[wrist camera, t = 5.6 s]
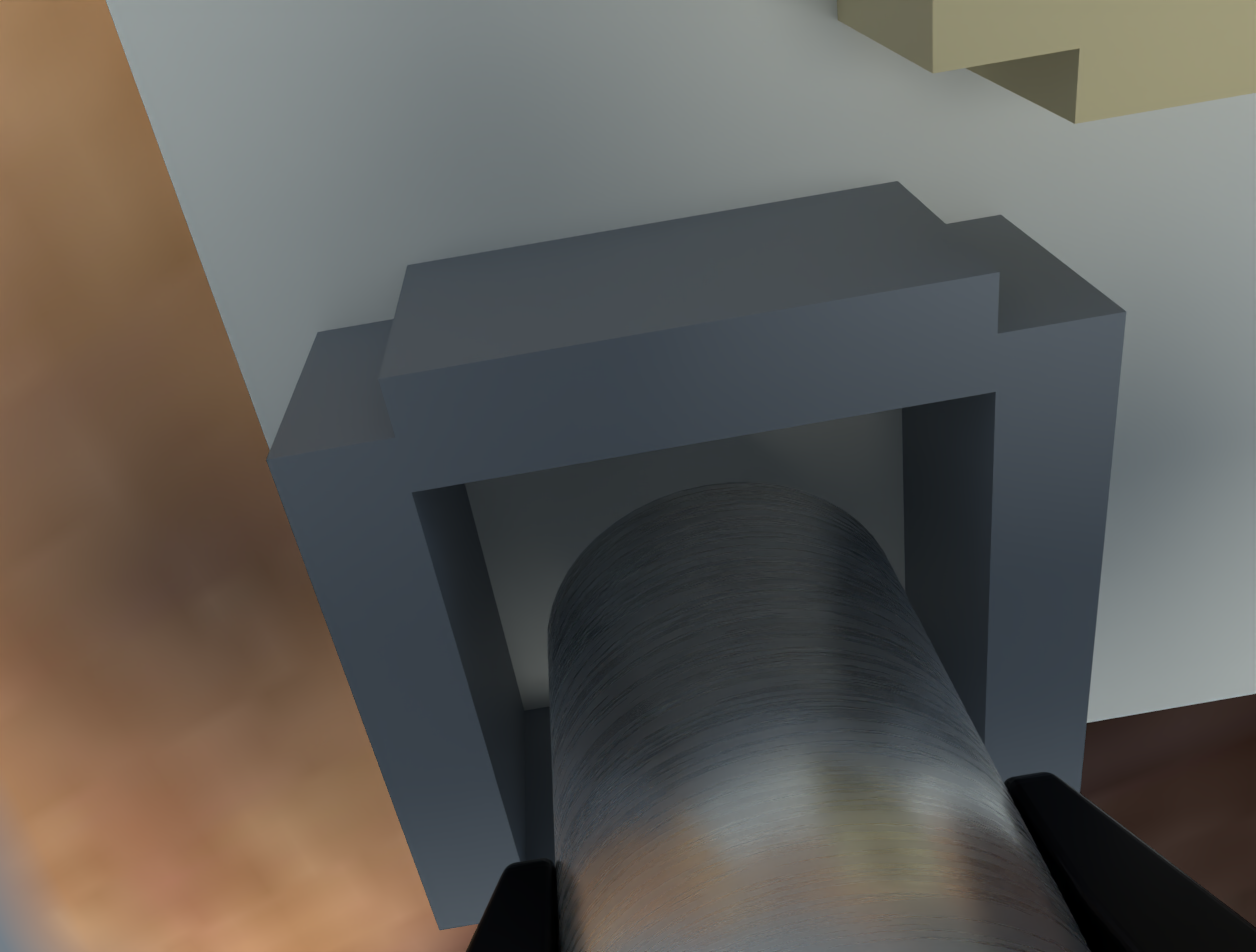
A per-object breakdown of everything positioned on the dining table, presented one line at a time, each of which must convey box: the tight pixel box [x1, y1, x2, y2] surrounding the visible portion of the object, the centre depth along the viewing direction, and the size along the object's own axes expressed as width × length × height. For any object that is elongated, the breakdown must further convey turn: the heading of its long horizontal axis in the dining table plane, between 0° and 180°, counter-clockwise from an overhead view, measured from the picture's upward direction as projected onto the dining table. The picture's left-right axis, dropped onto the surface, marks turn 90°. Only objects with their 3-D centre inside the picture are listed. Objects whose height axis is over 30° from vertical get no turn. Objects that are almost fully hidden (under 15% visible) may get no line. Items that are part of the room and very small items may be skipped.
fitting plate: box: [106, 0, 1256, 930], centre depth 12 cm, size 16×14×4 cm
